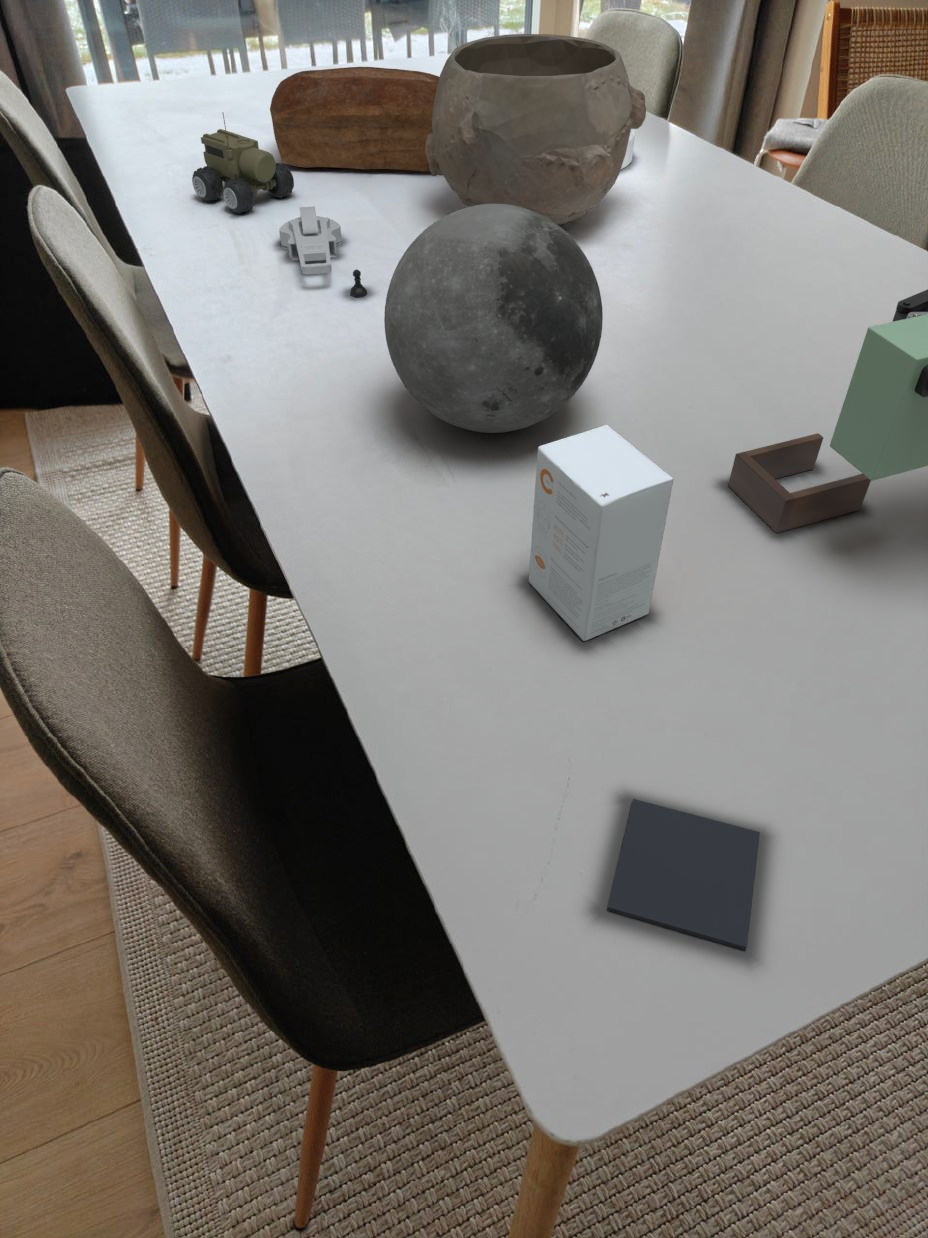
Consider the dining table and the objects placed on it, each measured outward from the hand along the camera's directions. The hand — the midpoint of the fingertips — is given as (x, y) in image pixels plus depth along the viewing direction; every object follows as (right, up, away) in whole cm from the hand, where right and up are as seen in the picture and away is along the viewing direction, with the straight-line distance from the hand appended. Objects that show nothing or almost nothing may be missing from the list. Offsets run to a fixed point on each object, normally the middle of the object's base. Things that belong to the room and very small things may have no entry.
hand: (894, 362), depth 66 cm
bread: (-45, +53, +80) cm, 106 cm away
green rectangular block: (+2, -5, +7) cm, 9 cm away
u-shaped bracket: (0, -7, +18) cm, 20 cm away
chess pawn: (-43, +21, +47) cm, 67 cm away
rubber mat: (-17, -33, -9) cm, 38 cm away
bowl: (-22, +37, +64) cm, 77 cm away
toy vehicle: (-62, +42, +68) cm, 101 cm away
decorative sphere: (-28, +2, +28) cm, 39 cm away
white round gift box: (-14, +54, +81) cm, 98 cm away
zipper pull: (-49, +28, +54) cm, 78 cm away
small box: (-20, -17, +9) cm, 28 cm away
